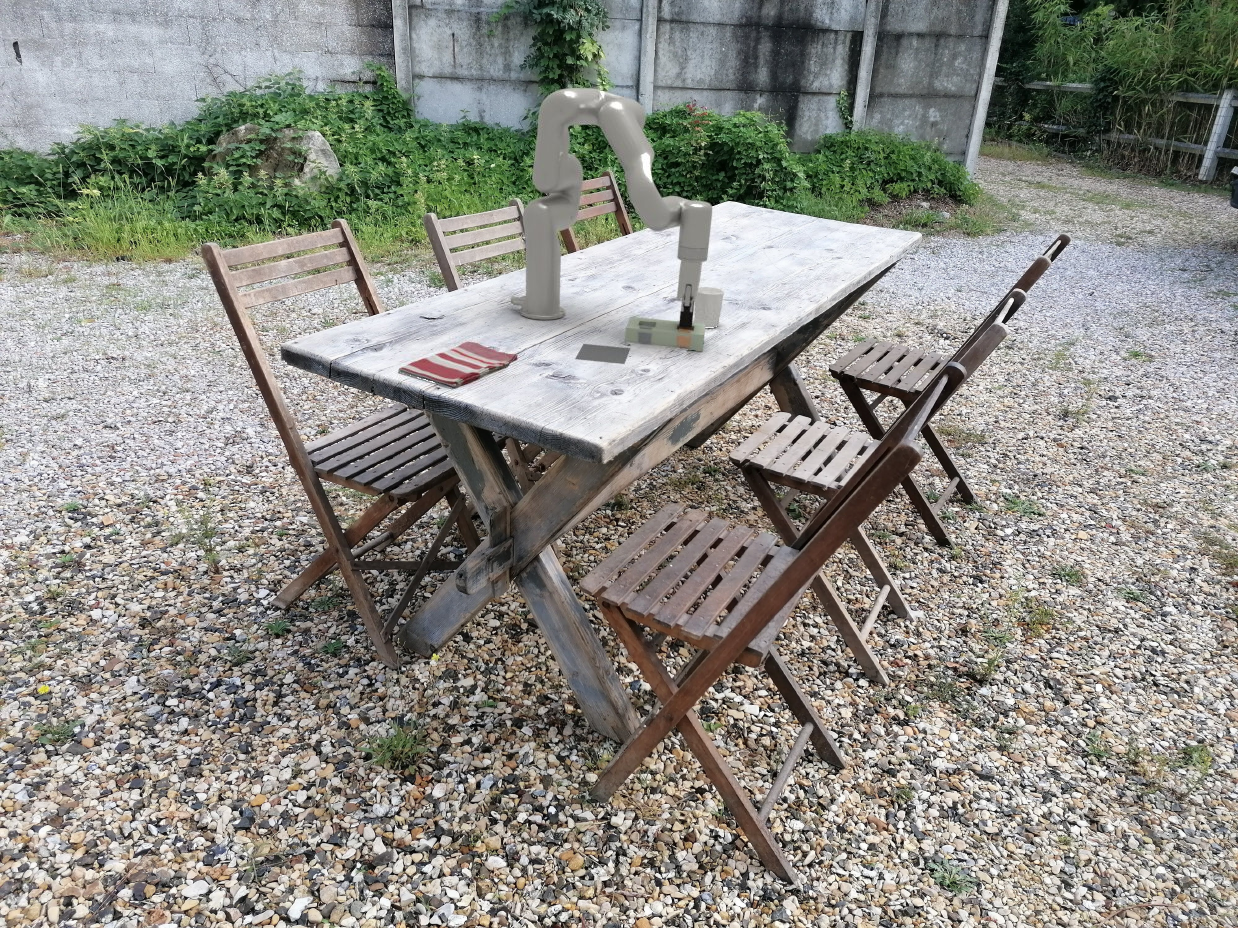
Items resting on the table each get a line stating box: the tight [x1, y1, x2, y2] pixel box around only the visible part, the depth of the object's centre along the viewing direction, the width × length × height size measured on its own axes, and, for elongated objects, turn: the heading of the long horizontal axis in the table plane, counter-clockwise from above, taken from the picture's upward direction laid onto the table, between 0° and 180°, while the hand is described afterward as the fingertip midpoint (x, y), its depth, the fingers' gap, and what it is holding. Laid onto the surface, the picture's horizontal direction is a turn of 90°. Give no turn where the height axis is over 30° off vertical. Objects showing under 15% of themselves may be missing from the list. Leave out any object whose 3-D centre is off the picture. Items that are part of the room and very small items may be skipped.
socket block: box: [624, 316, 706, 352], centre depth 218 cm, size 20×10×5 cm, turn 82°
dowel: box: [679, 297, 695, 331], centre depth 215 cm, size 3×3×10 cm
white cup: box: [693, 286, 725, 327], centre depth 233 cm, size 8×8×10 cm
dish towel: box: [397, 341, 519, 390], centre depth 193 cm, size 17×23×3 cm
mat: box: [574, 343, 631, 365], centre depth 206 cm, size 12×12×1 cm
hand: (685, 323), depth 216 cm, fingers closed on dowel, 3 cm apart
